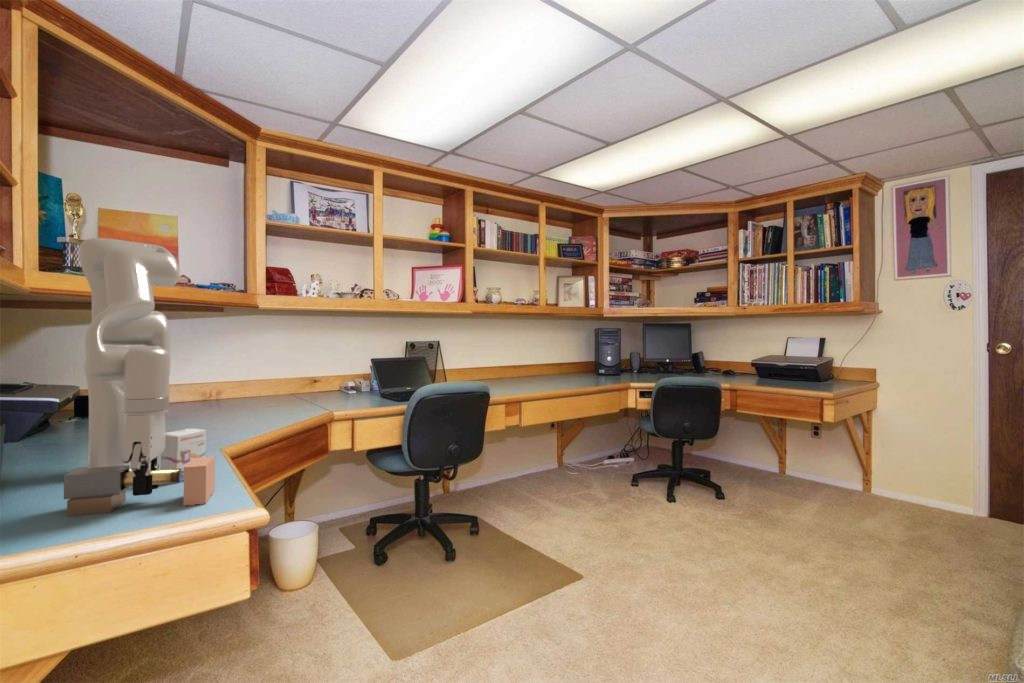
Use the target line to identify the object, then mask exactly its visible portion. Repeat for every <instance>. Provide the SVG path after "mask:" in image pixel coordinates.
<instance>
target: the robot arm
mask: <svg viewBox="0 0 1024 683" xmlns="http://www.w3.org/2000/svg"><path fill="white" fill-rule="evenodd" d="M79 261H80V262H79V263H80V267H81V269H82V272H83V274H84V277H85V278H86V281H87V283H88V285H89V288H90V293H91V322H90V324H89V325H88V327H87V328H86V331H85V338H84V349H85V350H84V351H85V352H84V353H85V361H84V365H83V367H84V375H85V380H86V384H87V385H86V386H87V391H88V392H87V394H88V454H87V455H88V456H87V457H86V459H87V461H88V466H87V467H86V468H95V467H110V466H125V465H129V472H133V474H132V476H133V486H132V496H134V497H136V496H137V497H138V496H148V495H151V494H152V493H153V490H155V489H158V488H159V487H160V484H156V485H152V475H150V473H151V470H160V456H161V453H163V452H164V450H165V440H166V433H167V432H166V418H165V416H166V415H165V413H168V412H169V410H170V396H169V395H170V374H171V336H170V335H171V334H170V332H171V331H170V324H169V321H168V318H167V316H166V314H164V312H161V311H158V310H155V305H156V304H155V300H154V292H153V291H154V290H153V286H154V287H165V288H166V287H167V288H169V287H170V288H171V287H174V286H175V285H176V284H177V283H178V282H179V278H180V266H179V264H178V261H177V259H176V257H175V256H174V255H173V253H171V252H170V251H169V250H168V249H167V248H165V247H164V246H162V245H159V244H154V243H153V244H152V243H146V242H145V243H144V242H137V241H136V242H135V241H129V240H123V239H116V238H115V239H114V238H107V237H91V238H87V239H84V240H83V241H82V242H81V244H80V246H79Z"/></svg>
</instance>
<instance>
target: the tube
mask: <svg viewBox="0 0 1024 683" xmlns="http://www.w3.org/2000/svg"><path fill="white" fill-rule="evenodd" d="M132 474H133V472H122V473H121V487H129V488H131V487H133V476H132ZM150 475H152V485H156V484H159V485H166V484H178V483H181V482H180V480H181V475H182V472H181V469H180V468H178V469H164V470H160V469H157V470H151V473H150Z"/></svg>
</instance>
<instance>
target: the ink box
mask: <svg viewBox="0 0 1024 683" xmlns="http://www.w3.org/2000/svg"><path fill="white" fill-rule="evenodd" d="M206 444H207V429H201V428H192V427H191V428H185V429H184V428H183V429H179V430H175V431H169V432H166V440H165V450H164V452H163V453H161V454H160V465H159V470H164V469H178V468H180V469H181V472H182V475H181V480H180V482H179V483H182V482H184V467H185V466H186V465H187V464H188V463H189V462H191V461H192V460H193V459H194V458H201V457H206ZM181 481H182V482H181Z"/></svg>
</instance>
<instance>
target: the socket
mask: <svg viewBox="0 0 1024 683" xmlns="http://www.w3.org/2000/svg"><path fill="white" fill-rule="evenodd" d="M215 473H216V456H205V457H201V458H194V459H193V460H192V461H191V462H189V463H188V464H187V465H186V466H185V467H184V481H183V507H186V506H185V505H189V506H196V505H195V504H200V505H205V504H204V503H206V502H207V503H208V502H209V500H210V499H211V498H212V496H213V495H214V494H215V492H214V491H215V490H216V489H215V488H216V483H215V482H216V474H215ZM213 493H214V494H213ZM212 494H213V495H212ZM211 495H212V496H211ZM209 498H210V499H209ZM207 503H206V504H207Z"/></svg>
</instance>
